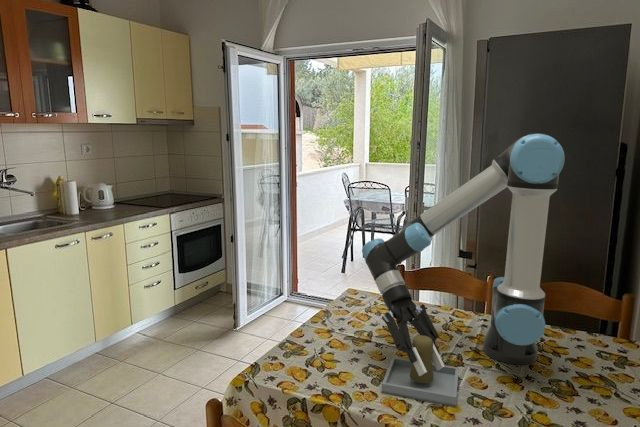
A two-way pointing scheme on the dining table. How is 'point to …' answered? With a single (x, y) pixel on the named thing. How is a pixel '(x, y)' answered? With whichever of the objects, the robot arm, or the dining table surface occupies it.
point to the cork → (423, 359)
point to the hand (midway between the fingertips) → (432, 371)
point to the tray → (435, 391)
